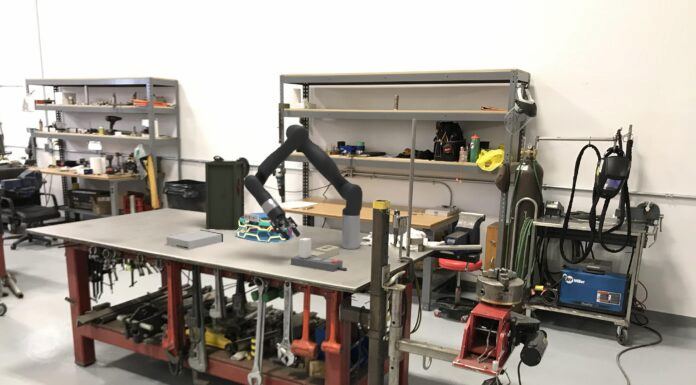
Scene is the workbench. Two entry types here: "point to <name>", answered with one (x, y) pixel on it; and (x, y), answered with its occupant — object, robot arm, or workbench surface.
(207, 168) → the green ammo box
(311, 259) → the power strip
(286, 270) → the workbench surface
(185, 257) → the workbench surface
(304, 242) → the block
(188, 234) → the disc drive
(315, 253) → the electrical outlet
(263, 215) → the stadium
